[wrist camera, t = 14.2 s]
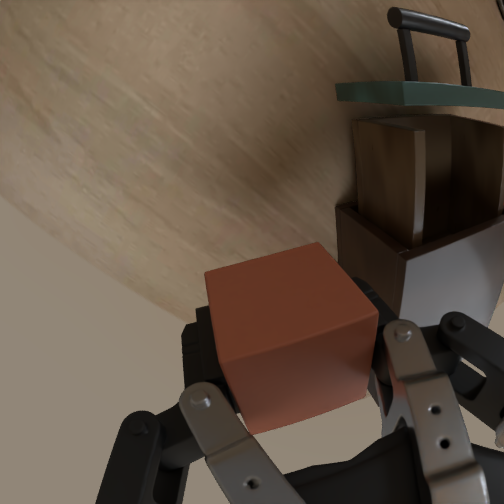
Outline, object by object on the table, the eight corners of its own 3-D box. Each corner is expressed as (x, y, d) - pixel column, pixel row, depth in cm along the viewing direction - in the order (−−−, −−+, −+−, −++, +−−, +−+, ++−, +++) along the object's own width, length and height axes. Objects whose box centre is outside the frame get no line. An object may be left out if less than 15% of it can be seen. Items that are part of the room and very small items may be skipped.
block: (203, 271, 11) (218, 362, 7) (318, 240, 11) (380, 311, 7) (230, 352, 13) (250, 436, 9) (323, 324, 13) (366, 397, 10)
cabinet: (334, 205, 22) (406, 260, 14) (449, 179, 23) (520, 214, 16) (338, 342, 29) (378, 407, 21) (432, 302, 30) (478, 348, 23)
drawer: (322, 18, 14) (383, -10, 8) (441, 33, 16) (505, 31, 10) (349, 262, 23) (397, 313, 17) (447, 229, 24) (498, 263, 18)
